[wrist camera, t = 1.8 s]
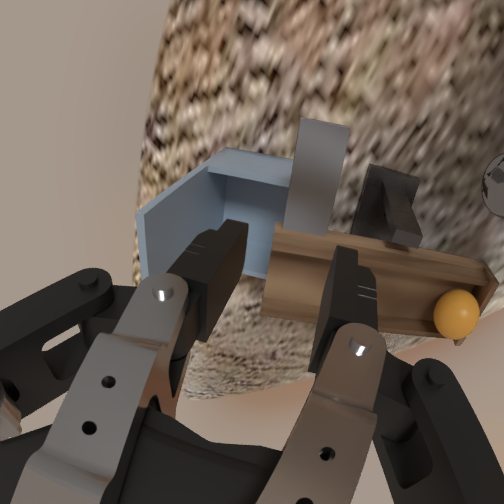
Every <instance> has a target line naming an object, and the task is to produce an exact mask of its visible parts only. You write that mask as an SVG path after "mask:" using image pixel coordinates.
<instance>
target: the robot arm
mask: <svg viewBox="0 0 504 504" xmlns="http://www.w3.org/2000/svg"><path fill="white" fill-rule="evenodd" d="M248 230H249V224H248V223H245V222H241V221H237V220H232V219H226V220H225V221H224V223H223V224H222V225H221V226H220V228H219V229H218V230H213V229H208V230H206V231H204V232H202V233H200V234H198V235H197V236H196V237H195V238H194V240H193V241H192V242H191V244H189V245H188V247H187V248H186V249H185V251H183V253H182V254H181V255H180V256H179V257H178V259H177V260H176V261H175V262H174V263H173V265H172V266H171V267H170V268H169V269H168V271H167V272H166V273H157V274H153V275H150V276H148V277H146V278H145V279H143V280H142V281H141V282H140V284H139V285H138V287H132V286H118V285H113V284H112V279H111V276H110V274H109V273H108V272H107V271H105V270H103V269H99V268H87V269H83V270H80V271H78V272H76V273H74V274H72V275H70V276H68V277H66V278H64V279H62V280H60V281H58V282H56V283H54V284H51V285H50V286H48V287H46V288H44V289H42V290H40V291H38V292H36V293H34V294H32V295H30V296H28V297H26V298H24V299H22V300H20V301H18V302H16V303H15V304H13V305H11V306H9V307H7V308H5V309H3V310H1V311H0V504H350V503H351V500H352V498H353V495H354V492H355V490H356V487H357V484H358V481H359V479H360V476H361V472H362V470H363V467H364V464H365V461H366V457H367V454H368V451H369V447H370V444H371V441H372V440H373V443H374V445H375V448H376V451H377V454H378V457H379V460H380V463H381V466H382V468H383V471H384V474H385V477H386V480H387V483H388V486H389V489H390V492H391V495H392V498H393V501H394V504H504V474H503V472H502V469H501V467H500V465H499V463H498V460H497V458H496V456H495V454H494V451H493V449H492V447H491V445H490V443H489V441H488V439H487V436H486V434H485V432H484V430H483V428H482V426H481V424H480V422H479V420H478V418H477V416H476V414H475V413H474V410H473V408H472V407H471V405H470V403H469V401H468V399H467V397H466V395H465V393H464V392H463V390H462V388H461V386H460V384H459V382H458V381H457V379H456V377H455V376H454V374H453V372H452V371H451V369H450V368H449V367H448V366H447V365H445V364H444V363H442V362H440V361H439V360H436V359H432V358H426V359H421V360H419V361H418V362H417V363H416V364H415V365H414V366H412V365H410V364H408V363H406V362H404V361H402V360H400V359H398V358H396V357H394V356H393V355H392V354H390V353H389V352H388V351H387V347H386V342H385V340H384V338H383V337H382V335H381V334H380V333H379V332H378V311H377V300H376V299H377V291H376V278H375V276H374V275H373V273H372V271H371V270H370V268H367V267H363V266H360V265H358V250H356V249H352V248H348V247H344V246H340V245H337V246H336V249H335V252H334V255H333V259H332V262H331V265H330V269H329V272H328V275H327V279H326V282H325V286H324V289H323V294H322V298H321V304H320V310H319V316H318V321H317V327H316V332H315V338H314V343H313V348H312V353H311V358H310V363H309V368H308V372H312V373H316V376H315V382H314V385H313V387H312V389H311V391H310V393H309V395H308V398H307V400H306V402H305V404H304V406H303V408H302V410H301V413H300V415H299V417H298V419H297V421H296V423H295V425H294V427H293V429H292V431H291V433H290V436H289V438H288V439H287V441H286V443H285V445H284V447H283V449H282V451H279V450H275V449H271V448H267V447H263V446H255V445H237V444H223V443H214V442H210V441H208V440H206V439H204V438H202V437H201V436H199V435H198V434H196V433H194V432H193V431H192V430H190V429H189V428H187V427H186V426H184V425H183V424H181V423H179V422H178V421H177V420H175V415H176V414H175V413H176V406H177V401H178V398H179V394H180V391H181V387H182V384H183V380H184V377H185V373H186V370H187V366H188V363H189V359H190V349H191V347H192V346H193V344H194V342H195V340H199V341H202V342H205V343H206V342H207V340H208V338H209V336H210V335H211V333H212V331H213V329H214V327H215V325H216V323H217V321H218V319H219V317H220V315H221V313H222V312H223V310H224V308H225V306H226V304H227V302H228V300H229V298H230V296H231V294H232V292H233V290H234V289H235V287H236V285H237V283H238V281H239V279H240V277H241V274H242V271H243V268H244V263H245V256H246V247H247V239H248ZM77 324H78V326H79V329H80V332H79V333H78V334H76V335H74V336H72V337H71V338H69V339H67V340H65V341H64V342H62V343H60V344H58V345H57V346H55V347H53V348H52V349H50V350H48V351H42V347H43V345H44V344H45V343H46V342H47V341H49V340H50V339H52V338H54V337H56V336H57V335H59V334H61V333H63V332H65V331H66V330H68V329H70V328H72V327H73V326H75V325H77ZM67 391H68V392H67ZM65 392H67V395H66V396H65V399H64V401H63V403H62V405H61V407H60V409H59V411H58V413H57V416H56V418H55V420H54V422H53V424H51V425H48V426H45V427H42V428H40V429H36V430H34V431H31V432H28V433H25V434H22V435H20V434H21V431H22V428H21V425H20V422H21V419H23V418H24V417H26V416H28V415H29V414H31V413H33V412H34V411H36V410H37V409H39V408H41V407H42V406H44V405H46V404H47V403H49V402H50V401H52V400H54V399H55V398H57V397H59V396H60V395H62V394H63V393H65ZM9 437H11V438H9ZM8 438H9V439H8Z"/></svg>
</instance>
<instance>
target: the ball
mask: <svg viewBox="0 0 504 504" xmlns="http://www.w3.org/2000/svg"><path fill="white" fill-rule="evenodd" d="M479 315H480V311H479V305H478V302H477V300H476V299H475V297H474V296H473V295H472V294H471V293H469V292H468V291H465V290H462V289H454V290H450V291H448V292H446V293H445V294H444V295H442V296H441V297H440V299H439V300H438V302H437V303H436V306H435V309H434V323H435V326H436V328H437V330H438V331H439V332H440V334H442V335H443V336H444V337H446V338H449V339H453V340H457V339H462V338H464V337H466V336H468V335H469V334H470V333H471V332H472V331H473V330H474V329H475V327H476V326H477V323H478V320H479Z"/></svg>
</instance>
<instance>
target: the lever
mask: <svg viewBox="0 0 504 504" xmlns="http://www.w3.org/2000/svg"><path fill="white" fill-rule="evenodd" d="M349 133H350V128H349V127H348V126H344V125H339V124H334V123H329V122H324V121H319V120H314V119H308V118H303V117H300V123H299V130H298V136H297V142H296V148H295V155H294V161H293V167H292V173H291V179H290V184H289V190H288V196H287V202H286V208H285V213H284V219H283V222H277V221H276V223H275V230H274V236H273V242H272V248H271V253H270V259H269V265H268V271H267V277H266V283H265V288H264V294H263V300H262V306H261V312H260V315H264V316H270V317H276V318H283V319H289V320H295V321H302V322H309V323H316V324H317V321H318V316H319V310H320V304H321V298H322V294H323V289H324V286H325V282H326V279H327V275H328V272H329V269H330V265H331V262H332V259H333V255H334V252H335V249H336V246H337V245H340V246H344V247H348V248H352V249H356V250H358V265H360V266H363V267H367V268H370V270H371V271H372V273H373V275H374V276H375V278H376V291H377V299H376V300H377V311H378V332H386V333H395V334H405V335H414V336H425V337H436V338H446V337H444V336H443V335H442V334H440V332H439V331H438V330H437V328H436V326H435V323H434V309H435V306H436V303H437V302H438V300H439V299H440V297H441V296H442V295H444V294H445V293H446V292H448V291H450V290H454V289H462V290H465V291H468V292H469V293H471V294H472V295H473V296H474V297H475V299H476V300H477V302H478V305H479V311H480V315H479V317H480V316H481V314H482V312H483V311H484V309H485V307H486V306H487V304H488V303H489V301H490V299H491V297H492V296H493V294H494V292H495V291H496V289H497V287H498V285H499V282H498V281H497V279H496V278H495V276H494V275H493V273H492V272H491V270H490V269H489V267H488V266H487V264H486V263H485V262H484V261H479V260H475V259H470V258H466V257H461V256H456V255H452V254H447V253H442V252H438V251H433V250H428V249H423V248H418V249H416V248H413V247H409V246H405V245H402V244H398V243H393V242H388V241H383V240H378V239H372V238H367V237H362V236H357V235H351V234H346V233H340V232H335V231H329V230H327V229H328V225H329V221H330V217H331V213H332V209H333V205H334V201H335V197H336V192H337V188H338V184H339V179H340V175H341V170H342V166H343V161H344V157H345V152H346V147H347V143H348V138H349ZM466 337H467V336H466ZM466 337H464V338H462V339H457V340H453V341H454V343H455V345H456V346H460V345H461V344H462V342H463V341H464V340H465V338H466Z"/></svg>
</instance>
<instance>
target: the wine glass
mask: <svg viewBox="0 0 504 504" xmlns="http://www.w3.org/2000/svg"><path fill="white" fill-rule="evenodd" d="M482 195H483V199H484V202H485V204H486V206H487V208H488V209H489V210H490V211H491V212H492V213H493V214H495V215H497V216H499V217H504V154H501V155H499V156H497V157H496V158H495V159H494V160H493V161H492V162H491V163H490V164H489V166H488V167H487V169H486V171H485V173H484V176H483V180H482Z"/></svg>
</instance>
